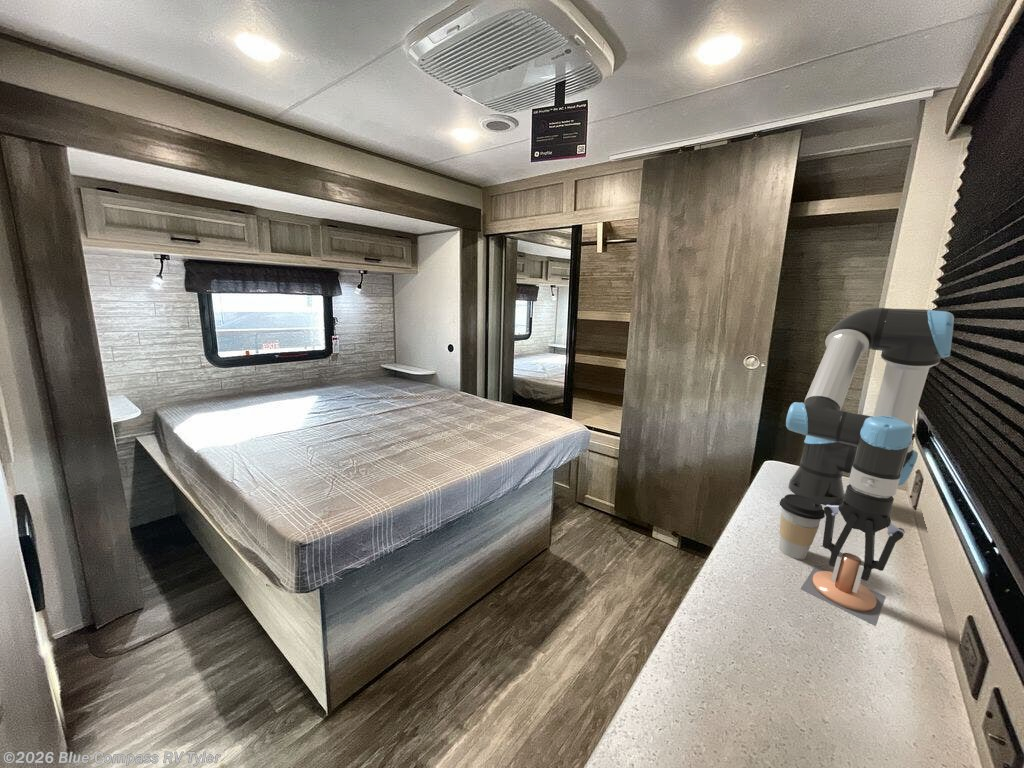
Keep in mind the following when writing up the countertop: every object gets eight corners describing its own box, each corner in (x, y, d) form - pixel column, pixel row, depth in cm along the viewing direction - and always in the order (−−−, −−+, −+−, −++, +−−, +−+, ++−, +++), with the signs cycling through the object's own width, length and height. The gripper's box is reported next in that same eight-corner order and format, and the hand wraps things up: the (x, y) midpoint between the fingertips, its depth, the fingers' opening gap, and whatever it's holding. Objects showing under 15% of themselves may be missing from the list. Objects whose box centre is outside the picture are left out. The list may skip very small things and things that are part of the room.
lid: (819, 568, 98) (827, 535, 96) (879, 595, 90) (890, 560, 88) (806, 588, 91) (814, 554, 89) (870, 620, 83) (881, 583, 80)
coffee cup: (821, 568, 99) (834, 514, 95) (779, 562, 101) (791, 509, 97) (802, 545, 108) (814, 495, 104) (764, 539, 110) (774, 490, 106)
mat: (815, 567, 99) (815, 565, 99) (884, 598, 90) (885, 595, 90) (799, 591, 91) (800, 588, 91) (874, 628, 81) (875, 625, 81)
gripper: (819, 480, 88) (797, 572, 93) (922, 512, 76) (890, 615, 81) (827, 471, 93) (806, 558, 98) (926, 500, 81) (895, 598, 86)
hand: (844, 584), depth 90 cm, fingers closed on lid, 3 cm apart
